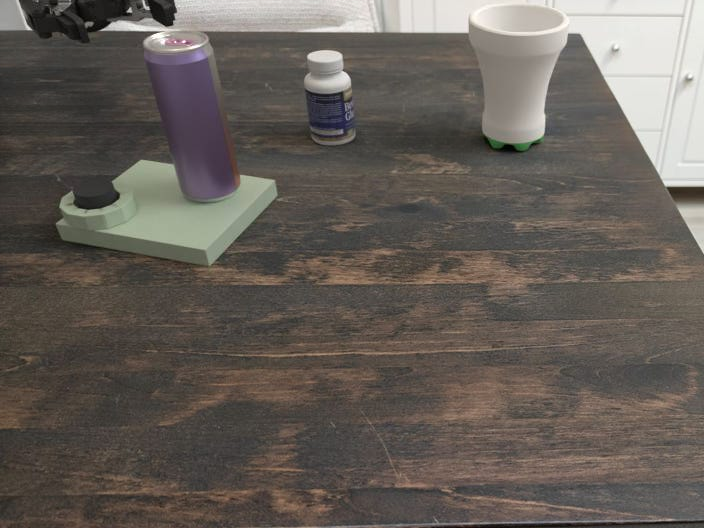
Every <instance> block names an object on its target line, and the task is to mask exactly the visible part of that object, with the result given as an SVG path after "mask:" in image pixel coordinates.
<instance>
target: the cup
mask: <svg viewBox="0 0 704 528" xmlns="http://www.w3.org/2000/svg"><path fill="white" fill-rule="evenodd" d="M467 21H468V40H469V43H470V45H471V47H472V49H473V50H474V53H475V56H476V59H477V63H478V66H479V71H480V75H481V79H482V86H483V87H482V88H483V96H484V97H483V100H484V101H483V102H484V103H483V105H484V110H483V112H482V118H481V131H482V135H483V137H484V138H486V139H487V140H488V141H489V144H490V145H491V148H493V149H502V148H504V146H505V145H511V146H513V147H514V149H515V150H516V151H519V152H525V151H527V150H528V149H529V148H530V146H531V145H532V144H539V143H542V142H543V141H544V138H545V130H546V114H545V107H546V106H545V105H546V99H547V93H548V88H549V85H550V84H549V83H550V80H551V78H552V75H553V72H554V70H555V66H556V63H557V62H558V59H559V56H560V54H561V52H562V51H563V49H564V48H565V47H566V45H567V43H568V38H569V28H570V19H569V17H568V16H567V14H566V13H565V12H564V11H562V10H559V9H557V8H554V7H552V6H548V5H545V4H544V5H543V4H539V3H538V4H537V3H531V2H519V1H518V2H517V1H516V2H515V1H513V2H499V3H491V4H487V5H482V6H480V7H478V8H475V9H473V11H472V12H471V13H470V14H469V15H468V20H467Z"/></svg>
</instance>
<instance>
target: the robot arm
mask: <svg viewBox="0 0 704 528" xmlns="http://www.w3.org/2000/svg"><path fill="white" fill-rule="evenodd" d="M143 1H144V3H143ZM18 4H19V6H20V9H21V11H22V14H23V17H24V20H25V23H26V24H27V26H28V27H29V29H31V30H32V31H33V32H34V34H36V36H37V37H38V38H39V39H43V40H47V39H48V40H49V39H50V38H52V37H54V36H53V33H59V36H60V37H64V38H68V39H70V40H73V41H77V42H78V43H80V44H81V45H84V44H88V43H91V42H90V41H91V40H90V36H89V33H90V34H91V33H96V32H99V31H102V30H104V29H106V28H107V27H109V26H110V25H111V24H112V23H117V22H119V21H125V22H135V23H136V22H137V23H138V22H141V21H142V20H144V19H152V20H154V21H155V22H157V23H159V24H161V26H164V27H165V28H169V27H173V26H174V22H175V21H176V16H175V15H176V14H177V13H178V8H177V7H176V2H175V0H18ZM144 4H145V6H144ZM145 7H148V9H146V8H145ZM129 9H131V12H128V11H129Z"/></svg>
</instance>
